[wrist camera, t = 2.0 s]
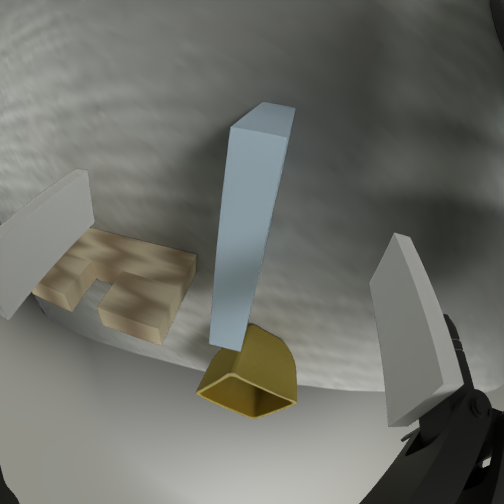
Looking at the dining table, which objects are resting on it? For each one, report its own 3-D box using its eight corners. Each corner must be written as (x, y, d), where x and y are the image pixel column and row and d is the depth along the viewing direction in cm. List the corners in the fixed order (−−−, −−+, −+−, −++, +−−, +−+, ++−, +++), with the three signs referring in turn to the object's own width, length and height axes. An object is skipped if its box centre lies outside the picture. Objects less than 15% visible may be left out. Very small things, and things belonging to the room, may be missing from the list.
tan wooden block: (80, 240, 32) (33, 293, 24) (76, 224, 30) (25, 276, 22) (196, 272, 31) (161, 345, 23) (196, 254, 30) (158, 328, 22)
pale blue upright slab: (262, 101, 20) (230, 126, 12) (295, 108, 20) (287, 137, 12) (236, 264, 29) (208, 343, 21) (260, 269, 29) (240, 351, 21)
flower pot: (212, 337, 38) (193, 394, 31) (247, 306, 33) (229, 373, 26) (264, 364, 40) (254, 420, 33) (305, 339, 35) (299, 403, 28)
